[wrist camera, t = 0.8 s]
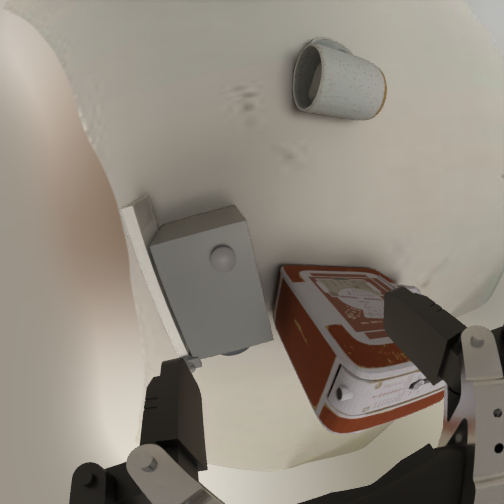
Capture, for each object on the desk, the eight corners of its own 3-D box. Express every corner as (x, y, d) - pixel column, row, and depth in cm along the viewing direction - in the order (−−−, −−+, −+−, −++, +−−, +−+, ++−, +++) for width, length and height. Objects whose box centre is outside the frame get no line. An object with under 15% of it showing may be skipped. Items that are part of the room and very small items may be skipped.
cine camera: (386, 316, 39) (469, 397, 20) (265, 321, 35) (320, 454, 16) (403, 260, 36) (508, 327, 17) (275, 252, 32) (365, 367, 13)
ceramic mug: (356, 126, 29) (396, 119, 22) (291, 117, 27) (320, 103, 20) (352, 50, 26) (387, 29, 18) (290, 36, 24) (314, 6, 17)
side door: (136, 199, 27) (116, 210, 20) (151, 194, 27) (135, 204, 20) (183, 331, 33) (181, 370, 26) (196, 328, 33) (196, 366, 26)
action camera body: (146, 229, 28) (126, 255, 20) (234, 205, 29) (247, 222, 21) (184, 332, 33) (181, 380, 25) (260, 312, 34) (278, 356, 26)
